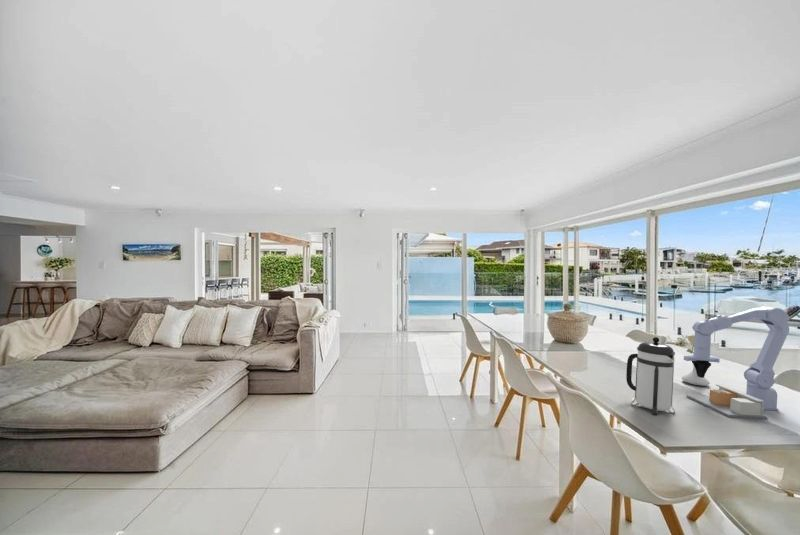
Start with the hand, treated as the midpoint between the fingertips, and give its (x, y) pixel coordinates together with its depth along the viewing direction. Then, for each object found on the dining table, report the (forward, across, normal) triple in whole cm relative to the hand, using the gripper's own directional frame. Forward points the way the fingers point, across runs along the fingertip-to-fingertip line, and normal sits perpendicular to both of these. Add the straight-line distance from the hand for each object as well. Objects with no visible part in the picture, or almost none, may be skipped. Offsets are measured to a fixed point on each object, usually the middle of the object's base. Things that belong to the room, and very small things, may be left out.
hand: (700, 377), depth 164 cm
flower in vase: (+10, -16, -24) cm, 31 cm away
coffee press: (+10, +33, +16) cm, 38 cm away
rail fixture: (+10, -2, +10) cm, 14 cm away
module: (+9, -4, +7) cm, 12 cm away
